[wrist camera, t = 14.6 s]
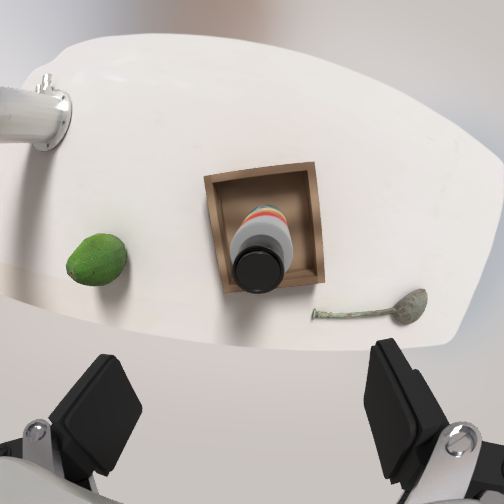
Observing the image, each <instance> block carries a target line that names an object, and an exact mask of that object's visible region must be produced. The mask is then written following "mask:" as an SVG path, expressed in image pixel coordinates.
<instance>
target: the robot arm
mask: <svg viewBox="0 0 504 504" xmlns="http://www.w3.org/2000/svg"><path fill="white" fill-rule="evenodd" d="M50 83H51V74H45V75H44V76H43V81H42V85H43V87H42V85H37V86H36V92H32V91H26V90H21V89H15V88H9V87H3V86H0V143H32V144H33V146H34V147H35V148H36V149H37V150H39V151H49V150H51V149H53V148H54V147H55V146H56V145H57V144H58V143H59V142H60V141H61V139H62V138H63V136H64V135H65V133H66V131H67V128H68V126H69V122H70V118H71V109H72V107H71V100H70V97H69V95H68V94H67V93H66V92H65V91H63V90H59V89H54V90H52V87H50ZM364 407H365V411H366V414H367V417H368V421H369V424H370V427H371V431H372V434H373V437H374V441H375V445H376V448H377V451H378V455H379V459H380V463H381V467H382V471H383V475H384V477H385V479H389V478H390V482H391V484H395V483H398V482H400V484H401V487H402V489H404V491H403V493H402V495H401V496H400V498H399V499H398V501H397V503H396V504H504V445H499V444H494V443H489V442H485V441H482V437H481V433H480V431H479V430H478V428H477V427H476V426H474V425H473V424H471V423H468V422H456V423H452V424H449V422H448V420H447V418H446V416H445V415H444V413H443V411H442V409H441V407H440V406H439V404H438V402H437V400H436V398H435V397H434V395H433V393H432V392H431V390H430V388H429V386H428V385H427V383H426V381H425V380H424V378H423V376H422V375H421V373H420V372H419V370H417V369H414V370H412V368H411V367H410V365H409V363H408V361H407V360H406V358H405V357H404V355H403V353H402V351H401V350H400V348H399V347H398V345H397V343H396V342H395V340H394V339H393V338H389V339H384V340H379V341H377V342H376V345H375V346H372V347H371V351H370V360H369V367H368V374H367V382H366V388H365V393H364ZM141 413H142V405H141V403H140V401H139V399H138V397H137V396H136V394H135V392H134V390H133V388H132V386H131V384H130V382H129V380H128V378H127V376H126V374H125V372H124V370H123V368H122V365H121V363H120V361H119V360H118V359H117V358H116V357H115V356H114V355H107V354H101V355H99V356H98V357H97V359H96V360H95V361H94V362H93V363H92V364H91V366H90V367H89V368H88V369H87V370H86V372H85V373H84V374H83V375H82V376H81V378H80V379H79V380H78V381H77V382H76V384H75V385H74V386H73V387H72V388H71V390H70V391H69V392H68V393H67V395H66V396H65V397H64V398H63V400H62V401H61V402H60V403H59V405H58V406H57V407H56V408H55V410H54V411H53V412H52V413H51V415H50V416H49V417H48V418H49V420H50V421H51V422H52V425H51V426H50V424H49V423H48V422H47V421H45V420H43V419H36V420H34V421H32V422H30V423H29V424H28V425H27V426H26V427H25V429H24V432H23V438H19V439H16V440H12V441H8V442H5V443H2V444H0V504H122V503H119V502H117V501H114V500H111V499H109V498H106V497H103V496H101V495H99V493H98V490H97V487H96V484H95V480H94V477H93V474H92V473H93V471H96V473H98V474H101V475H104V476H106V477H107V476H108V474H109V472H110V471H112V470H113V469H114V467H115V465H116V463H117V461H118V459H119V457H120V455H121V453H122V451H123V449H124V447H125V445H126V443H127V440H128V439H129V437H130V435H131V433H132V431H133V429H134V427H135V425H136V423H137V421H138V419H139V417H140V415H141Z"/></svg>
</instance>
